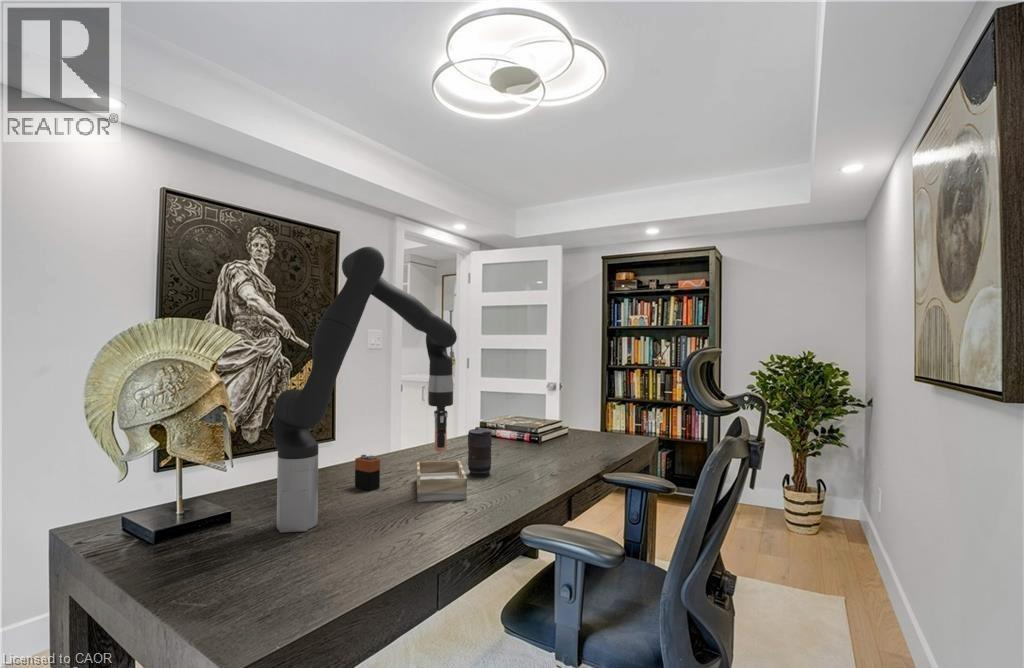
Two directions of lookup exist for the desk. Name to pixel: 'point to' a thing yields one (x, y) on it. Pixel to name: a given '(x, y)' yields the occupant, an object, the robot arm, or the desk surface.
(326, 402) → the robot arm
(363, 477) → the battery
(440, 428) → the peg
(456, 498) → the box
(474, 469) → the camera lens
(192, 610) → the desk surface
